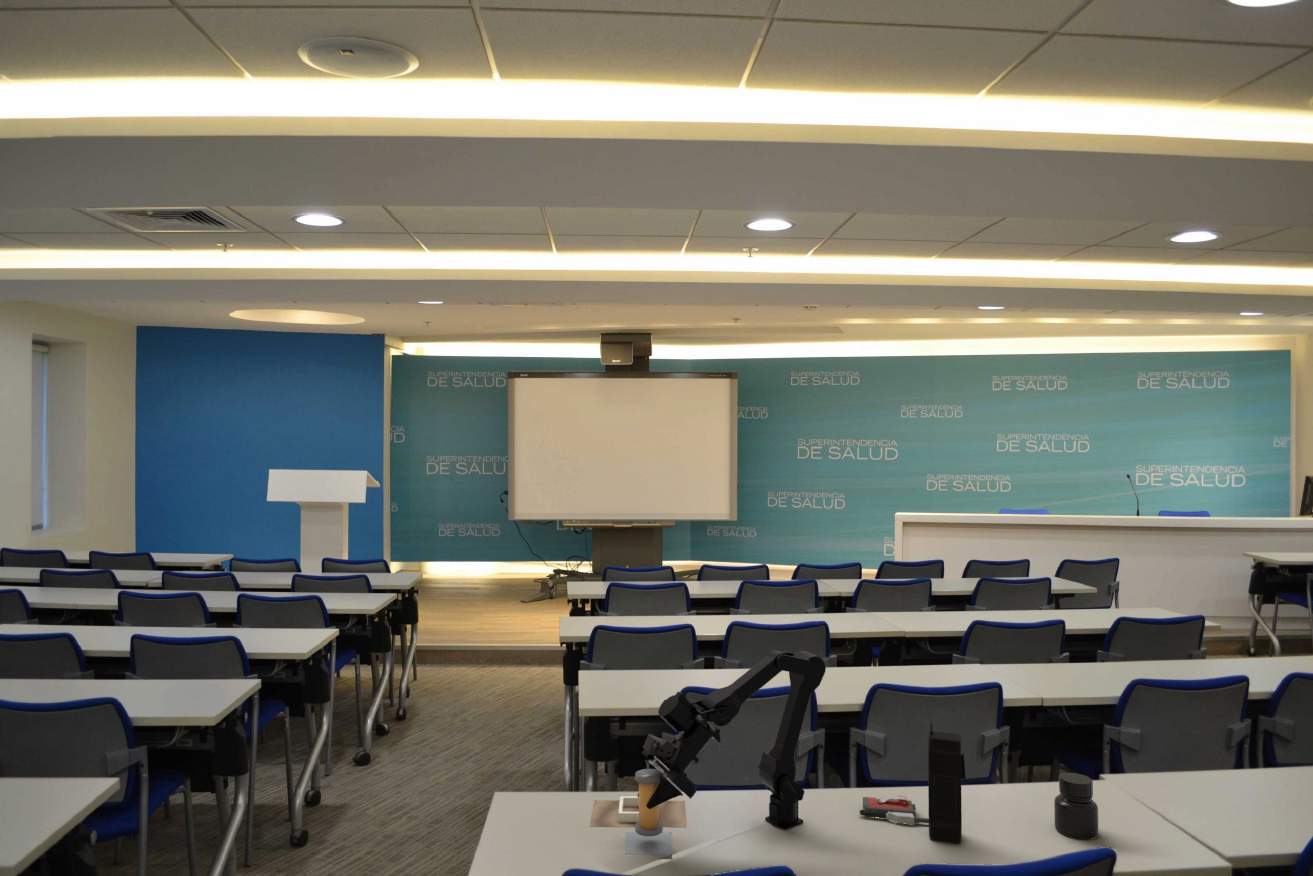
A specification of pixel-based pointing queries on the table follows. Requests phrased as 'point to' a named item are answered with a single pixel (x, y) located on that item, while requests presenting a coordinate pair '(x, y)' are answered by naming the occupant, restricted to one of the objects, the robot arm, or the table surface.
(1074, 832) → the ink bottle
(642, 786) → the orange cylinder grey ends
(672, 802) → the walnut board
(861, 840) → the table surface
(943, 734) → the portable radio
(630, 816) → the white square frame
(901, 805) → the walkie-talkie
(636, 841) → the grey mat
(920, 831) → the table surface
